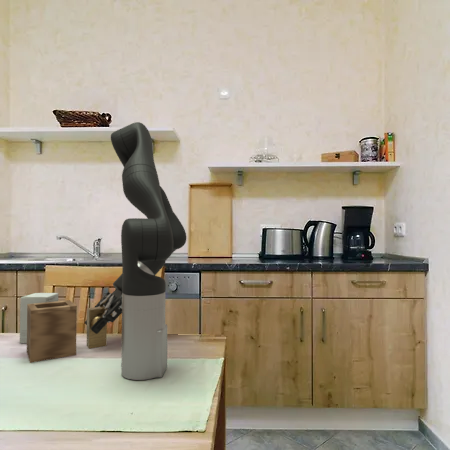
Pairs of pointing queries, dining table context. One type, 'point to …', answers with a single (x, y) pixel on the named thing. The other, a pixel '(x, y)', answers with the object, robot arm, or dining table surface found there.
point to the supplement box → (23, 309)
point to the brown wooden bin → (51, 330)
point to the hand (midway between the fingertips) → (90, 328)
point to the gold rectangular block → (92, 338)
